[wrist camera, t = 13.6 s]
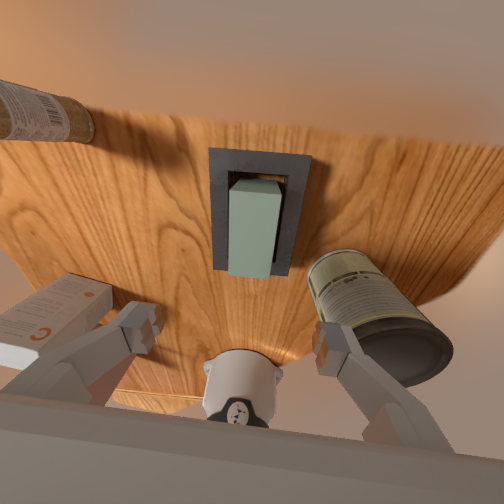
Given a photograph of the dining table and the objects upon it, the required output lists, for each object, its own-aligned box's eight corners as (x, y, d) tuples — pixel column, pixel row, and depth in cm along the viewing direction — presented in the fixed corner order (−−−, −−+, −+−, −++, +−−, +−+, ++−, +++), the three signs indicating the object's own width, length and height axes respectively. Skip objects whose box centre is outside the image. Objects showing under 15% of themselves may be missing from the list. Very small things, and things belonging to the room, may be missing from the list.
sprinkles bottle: (50, 94, 21) (-234, 19, 9) (91, 101, 21) (-138, 35, 9) (65, 141, 23) (-147, 131, 11) (101, 147, 23) (-71, 143, 11)
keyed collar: (285, 261, 29) (287, 276, 26) (219, 255, 29) (213, 269, 26) (304, 154, 22) (312, 155, 18) (217, 147, 22) (208, 147, 19)
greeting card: (90, 322, 40) (3, 407, 27) (115, 315, 38) (37, 401, 25) (125, 353, 45) (67, 438, 32) (149, 348, 43) (98, 435, 30)
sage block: (276, 180, 24) (281, 194, 16) (268, 243, 28) (269, 279, 20) (241, 177, 24) (229, 190, 16) (238, 240, 28) (228, 275, 20)
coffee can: (388, 269, 29) (480, 358, 16) (339, 308, 33) (383, 401, 21) (338, 235, 27) (402, 309, 14) (293, 282, 31) (312, 368, 19)
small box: (72, 296, 36) (-17, 362, 25) (67, 271, 33) (-36, 334, 22) (114, 307, 37) (47, 377, 26) (113, 284, 34) (37, 352, 23)
